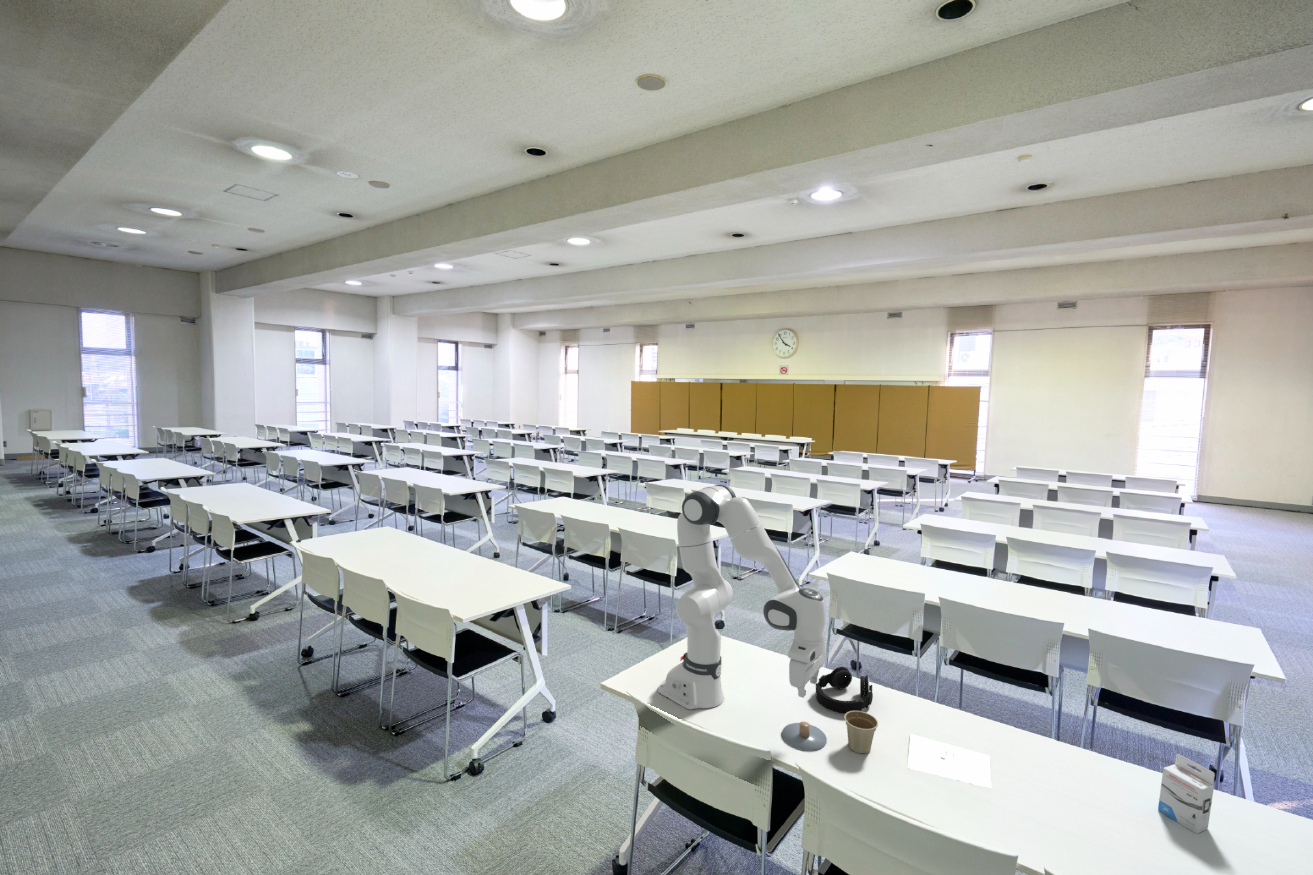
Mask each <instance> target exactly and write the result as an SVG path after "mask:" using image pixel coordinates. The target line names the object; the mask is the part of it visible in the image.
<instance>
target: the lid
mask: <svg viewBox="0 0 1313 875" xmlns="http://www.w3.org/2000/svg"><path fill="white" fill-rule="evenodd" d="M781 736H782V739H783V741H784V742H785V743H786V742H787V744H788V745H789V746H790V745H791V746H790V747H793V748H794V747H795V748H794V749H797V750H800V749H801V750H800V751H804V752H805V751H806V752H814V751H819V750H822V749H823V748H824V747H826V745H827V740H828V739H827V736H826V733H825V732H824V731H823V730H821V729H820V728H818V727H817V726H815V725H812V724H810V723H809V722H808V721H800V722H793V723H788V724H786V725H785V726H784V727H783V728H782V733H781Z"/></svg>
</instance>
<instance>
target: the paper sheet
mask: <svg viewBox="0 0 1313 875" xmlns="http://www.w3.org/2000/svg"><path fill="white" fill-rule="evenodd" d="M909 735H910V737H909V746H908V747H909V748H908V757H907V769H910V770H914V771H917V772H918V771H919V772H923V773H927V774H932V775H936V776H939V777H943V778H948V779H951V780H955V781H960V782H965V783H968V784H972V785H975V786H981V787H985V788H989V789H992V778H991V776H992V775H991V764H990V763H991V761H990V755H987V754H984V753H981V752H977V751H974V750H970V749H966V748H963V747H960V746H955V745H952V744H948V743H945V742H942V741H937V740H935V739H931V738H927V737H923V736H920V735H917V734H913V733H910V734H909Z"/></svg>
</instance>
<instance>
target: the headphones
mask: <svg viewBox="0 0 1313 875" xmlns="http://www.w3.org/2000/svg"><path fill="white" fill-rule="evenodd" d="M845 676H846V677H845ZM859 680H860V681H859V684H860V685H859V686H860V687H859V688H860V689H859V690H860V691H859V692H860V693H859V695H860V696H859V697H860V698H861V699H865V700H861V699H860V700H839V699H836V698H833V697H832V696H829V695H827V693H825V691H824V690H823V688H825V687H827V686H828V685H830V687H832V688H835V689H836V690H839V691H840V690H844V689H846V688H848V687H849V686H850V684H851V683H852V681H853V675H852V673H851V672H850V670H849V668H847V667H845V666H839V667H836V668H834V669H833V670H832V671H831V673H828V674H823V675H821V676H820V678H818V681H817V682H816V684H815V697H816V701H817V703H818V704H819V705H820V706H822V707H823V708H825V709H827V711H831V712H834V713H836V714H841V715H845V714H846V713H847V712H849V711H862V712H863V709H868V708H869V706H871V705H872V703H873V698H874V696H873V695H874V694H873V684H870V677H869V675H868V674H867V675H864V676H863V675H861V676H860V679H859Z"/></svg>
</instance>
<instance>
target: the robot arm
mask: <svg viewBox="0 0 1313 875" xmlns="http://www.w3.org/2000/svg"><path fill="white" fill-rule="evenodd" d="M676 522H677V524H676V525H677V526H676V528H677V529H676V530H677V542H678V547H679V553H680V560H681V565H682V569H683V570H684V571H685V572H686V573H688V574H689V576H690V577H691V579H692V581H693V584H694V587H693V588H690V589H688V590H687V591H685V592H684V593H683V594H682V595H681V596H680V597H679V599H678V600H677V602H676V604H675V613H676V616H677V618H678V619H679V621H680V622H681V623H682V624H684V627H685V630H686V636H687V639H686V640H687V648H686V649H687V650H686V651H687V652H685V653H683V655H682V656H681V657H680V662H681V663H679V664H677V665H675V666H673V667H672V668H671V669H670V670H669V671H668V673H667V675H666V677H665V679H664V680H663V681H662V682H661V683H660V684H659V685H658V689H657V692H658V694H660V693H661V694H660V695H662V696H663V697H665V698H667V697H668V699H669V700H671V701H672V702H675V703H676V704H678V705H680V706H681V707H683V708H685V709H687V710H696V709H711V708H715V707H718V706H720V705H721V704H723V702H724V700H725V696H724V692H723V688H722V681H721V679H722V678H721V675H722V656H721V651H722V650H721V647H722V645H721V644H722V643H721V642H722V641H721V640H722V636H721V633H720V632H719V631H718V629H716V627H715V618H716V615H717V614H719V613H721V612H722V611H724V610H725V609H727V607H728V606H729V605H730V603H732V601H733V597H734V590H733V588H732V585H731V584H730V582H728V580H726V579H725V578H724V577H723V576H722V574H721V572H720V570H719V567H718V565H717V560H716V557H715V551H714V546H713V540H712V534H711V525H715V524H716V523H717V522H718V523H720V524H721V525H722V526H723V527H724V528H725V531H726V533H727V535H728V538H729V539H730V542H731V544H732V546H733V548H734V550H735V552H736V553H737V554H738V556H739V557H741V558H742V559H745V560H747V561H752V562H757V563H759V564H761V565H762V566H764V567H765V569H766V570H767V572H768V573H769V576H770V577H771V579H772V580H773V582H774V584H775V586H776V588H777V591H778V594H776V595H775V596H773V597H771V598H770V599H768V601H766V602H765V604H764V605H763V610H762V612H763V617H764V620H765V622H766V623H767V625H769V626H770V627H771V628H773V629H775V630H777V631H778V630H779V631H785V632H787V631H788V632H789V631H791V632H792V631H793V639H792V644H791V646H790V648H789V650H788V651H787V658H788V659H790V660H789V664H788V665H789V666H788V669H789V670H788V675H789V676H788V678H789V685H790V686H791V687H794V688H796V689H797V692H798V693H797V695H798V696H797V697H799V698H805V696H806V695H807V694H806V693H807V690H806V688H805V687H806V685H807V684H808V682H809V683H810V684H813V685H816V683H818V676H819V673H820V669H821V668H822V667H823V665H824V664H825V662H826V644H825V643H826V642H825V640H826V635H825V630H824V628H825V625H826V604H825V599H824V597H823V595H822V594H821V593H820V592H818V591H817V590H814V589H813V588H812V589H811V588H806V587H804V588H803V587H802V586H801V585H800V584H799V582H798V581H797V579H796V578H795V577H794V575H793V573H792V571H791V570H790V568H789V566H788V564H787V562H786V560H785V559H784V557H783V555H782V554H781V552H780V551H779V549H778V548H777V546H776V545H775V544H774V542H772V540H771V538H770V537H769V535H768V533H767V531H766V529H765V528H764V526H763V523H762V521H761V519H760V517H759V515H758V513H757V512H756V510H755V509H754V507H753V506H752V503H750V501H749V499H747V498H745V497H742V496H737V495H736V493H735V491H734V490H733V489H732V488H731V487H729V486H727V485H724V484H715V485H710V486H706V487H703V488H702V489H699V490H697V491H693V492H691V493H690V494H688V495H687V496H685V498H684V500H683V501H682V504H681V513H680V514H679V515H678V517H677V520H676Z"/></svg>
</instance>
